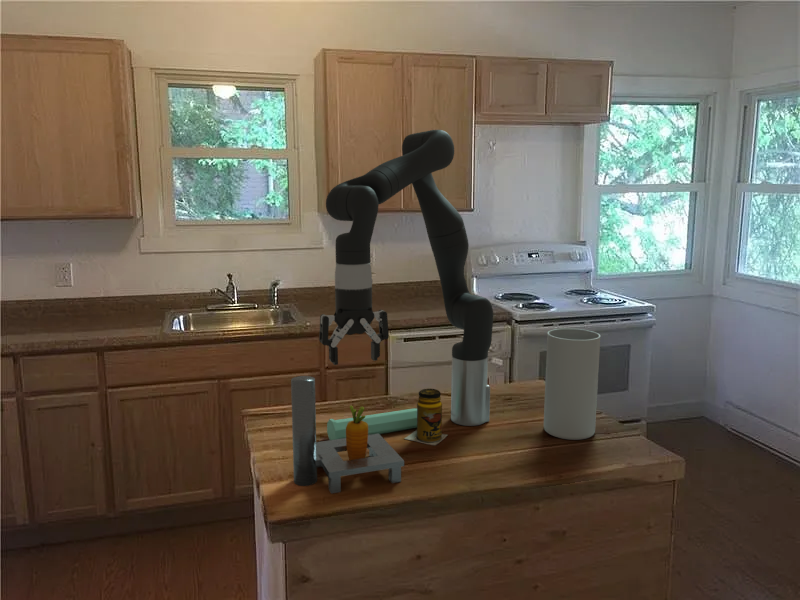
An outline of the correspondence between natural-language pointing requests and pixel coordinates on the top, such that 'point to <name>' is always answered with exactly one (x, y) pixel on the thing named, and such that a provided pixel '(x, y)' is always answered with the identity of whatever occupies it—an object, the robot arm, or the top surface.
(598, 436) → the top surface
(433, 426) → the condiment
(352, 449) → the carrot
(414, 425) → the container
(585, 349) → the cylinder vase
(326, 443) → the square hole stand
